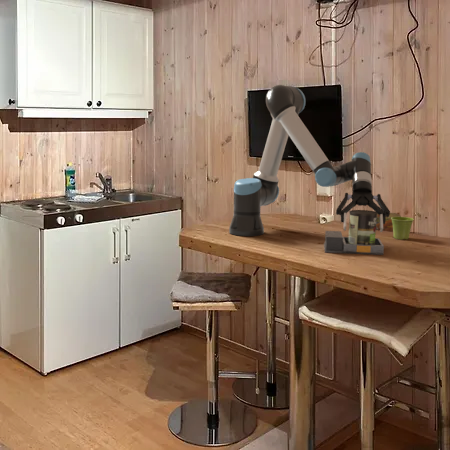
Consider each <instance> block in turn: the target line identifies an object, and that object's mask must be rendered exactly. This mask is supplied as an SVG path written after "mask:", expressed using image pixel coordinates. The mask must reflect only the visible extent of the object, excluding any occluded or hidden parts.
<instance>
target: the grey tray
mask: <svg viewBox="0 0 450 450" xmlns="http://www.w3.org/2000/svg"><path fill="white" fill-rule="evenodd" d="M324 239H325V240H324V242H323V249H324V253H330V254H331V253H332V254H351V255H373V256H374V255H376V256H384V254H385V253H384V249H385V245H384V244H383V242H382V241H381V239H380V238H379V237H378V238H377V237H375V245H362V244H348V239H349V236H343V233H342V231H339V230H325V237H324Z"/></svg>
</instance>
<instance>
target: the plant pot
mask: <svg viewBox="0 0 450 450" xmlns="http://www.w3.org/2000/svg"><path fill="white" fill-rule="evenodd" d="M391 219H392V223H393V231H392V233H393V238H394V239H396V240H400V241H402V240H409V238H410V232H411V228H412V225H413V222H414V220H415V219H414V218H413V217H407V216H401V217H391Z"/></svg>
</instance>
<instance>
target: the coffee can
mask: <svg viewBox="0 0 450 450" xmlns="http://www.w3.org/2000/svg"><path fill="white" fill-rule="evenodd" d="M348 213H349V218H348V219H349V221H348V237H349V239H348V244H362V245H375V238H376V232H377V230H376V220H377V212H375V211H374V210H367V209H366V210H365V209H353V210H352V209H351V210H350V211H348Z"/></svg>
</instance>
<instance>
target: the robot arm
mask: <svg viewBox="0 0 450 450" xmlns="http://www.w3.org/2000/svg"><path fill="white" fill-rule="evenodd" d="M265 104H266V107H267V110H268V111H269V113H270V116H271V118H272V120H271V125H270V128H269V132H268V135H267V138H266V142H265V146H264V149H263V152H262V157H261V160H260V164H259V168H258V170H257V171H255V172H254V173H253V175H252V177H246V178H239V179H237V180H236V181H235V182H234V186H233V216H232V219H231V222H230V224H229V230H228V233H229V234H231V235H233V236H234V235H235V236H239V237H241V236H242V237H243V236H244V237H255V236H261V235H264V234H265V229H264V224H263V221H262V216H261V208H262V207H264V206H265V207H266V206H268V205H270V204H273V203H275V201H276V200H277V199H278V197H279V194H280V188H279V181H280V179H279V177H278V172H279V169H280V166H281V163H282V160H283V155H284V152H285V150H286V149H285V148H286V145H287V142H288V139H289V138H290V140H291V141H292V142H293V144H294V145H295V146H296V147H295V148H296V149H298V152H299V153H300V154H301V155H302V157H303V159H304V160H305V162H306V163H307V165H308V166H309V168H310V169H311V170H312V172H313V173H314V179H315V182H316V184H317V185H318V186H320V187H325V188H327V187H328V188H329V187H333V186H334V187H335V186H338V185H340V184H341V185H342V184H343V183H346V182H350V181H351V182H352V183H351V184H352V187H351V188H352V191H351V192H352V194H349V193H348V192H345V193H344V196H343V198H342V200H341V202H340V203H339V205H338V206H337V208H336V210H335V211H336V212H335V215H336V216H338V215H339V216H340V223H343V231H344V232H345V231H347V213H349V211H351V210H352V209H353V208H354V207H356V206H358V207H360V206H364V207H367V206H368V207H369V208H371V209H372V211H375V212H377V214H379V215H380V230H379V232H380V233H383V224H385V222H386V218H385V217H389V215H390V213H391V211H390V209H389V208H388V206H387V204H386V203H385V202H384V200H383V198H382V197H381V194H380V193H377V194H376V195H373V187H372V185H373V184H372V162H371V161H372V160H371V156H370V155H369V154H368V153H366V152H365V151H363V152H362V151H361V152H356V153H354V154H353V155H352V156H351V157H352V158H351V160H350V161H347V162H345V163H341V164H339V165H334V166H333V165H332V163H331V162H330V160H329V159H328V157H327V155H326V154H325V153H324V151H323V150H322V148H321V147H320V146H319V144H318V143H317V141H316V140H315V138H314V136H313V135H312V134H311V132H310V131H309V129H308V128H307V126H306V125H305V124H304V122H303V121H302V119H301V118H300V117H299V114H300V113H302V112H303V110H304V109H305V108H306V107H305V106H306V96H305V94H304V93H303V91H302V90H301V89H299V88H298V87H295V86H291V85H282V84H278V85H274V86H272V87H271V88H270V89H269V90H268V91H267V93H266V95H265ZM349 200H352V201H351V202H349V203H348V204H347V202H348V201H349ZM374 200H375V201H374ZM375 202H376V203H375ZM346 204H347V205H346Z"/></svg>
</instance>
